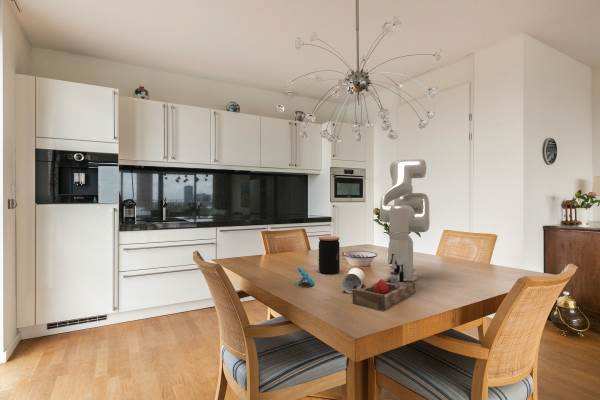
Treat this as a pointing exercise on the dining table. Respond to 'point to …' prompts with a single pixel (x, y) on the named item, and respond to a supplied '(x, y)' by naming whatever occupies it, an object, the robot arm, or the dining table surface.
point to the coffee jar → (329, 255)
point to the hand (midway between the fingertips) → (399, 281)
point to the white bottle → (353, 280)
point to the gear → (304, 277)
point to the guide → (381, 296)
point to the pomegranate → (381, 287)
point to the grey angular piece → (394, 281)
